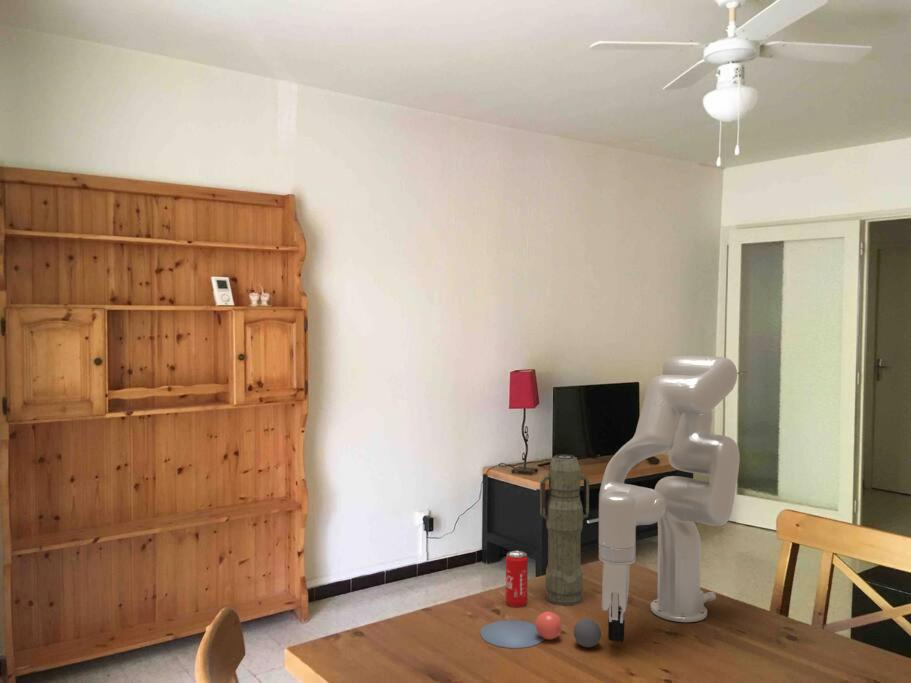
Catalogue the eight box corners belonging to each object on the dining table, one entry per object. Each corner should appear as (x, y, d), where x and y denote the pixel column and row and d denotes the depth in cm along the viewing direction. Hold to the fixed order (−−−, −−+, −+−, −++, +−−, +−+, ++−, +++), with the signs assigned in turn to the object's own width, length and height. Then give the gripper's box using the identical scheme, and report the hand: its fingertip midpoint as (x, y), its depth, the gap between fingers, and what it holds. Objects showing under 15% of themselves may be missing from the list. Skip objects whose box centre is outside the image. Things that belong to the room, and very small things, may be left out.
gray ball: (587, 609, 156) (581, 631, 158) (571, 619, 152) (565, 641, 154) (608, 624, 153) (602, 646, 154) (593, 634, 149) (587, 657, 150)
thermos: (535, 593, 183) (535, 454, 182) (579, 590, 185) (580, 452, 184) (546, 607, 174) (547, 460, 173) (593, 603, 177) (594, 458, 176)
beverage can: (526, 608, 174) (526, 558, 173) (504, 606, 175) (504, 556, 174) (528, 600, 179) (528, 551, 178) (507, 598, 180) (507, 550, 179)
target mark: (525, 617, 169) (525, 616, 169) (557, 641, 156) (557, 640, 156) (469, 627, 163) (469, 626, 163) (498, 653, 150) (498, 652, 150)
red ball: (563, 623, 160) (540, 610, 161) (568, 617, 155) (545, 603, 157) (552, 647, 157) (529, 633, 159) (557, 641, 153) (533, 627, 154)
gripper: (601, 540, 161) (601, 623, 161) (595, 562, 147) (594, 652, 147) (636, 543, 159) (636, 627, 159) (634, 565, 144) (633, 657, 145)
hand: (616, 639), depth 153 cm, fingers closed
